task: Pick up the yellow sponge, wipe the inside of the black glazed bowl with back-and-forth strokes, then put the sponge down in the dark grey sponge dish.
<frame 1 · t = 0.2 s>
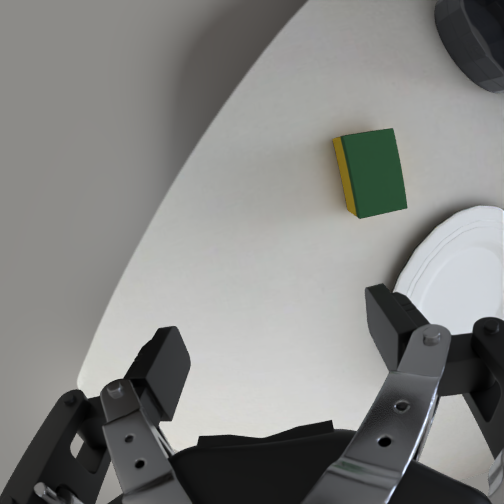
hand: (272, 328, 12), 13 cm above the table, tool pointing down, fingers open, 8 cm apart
black bowl: (479, 40, 17), on the table
sponge: (363, 170, 23), on the table
plate: (462, 299, 26), on the table
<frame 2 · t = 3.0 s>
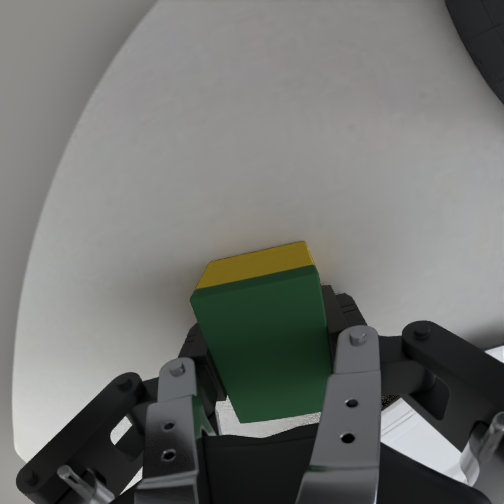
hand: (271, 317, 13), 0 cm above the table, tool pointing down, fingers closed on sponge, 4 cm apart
sponge: (272, 314, 13), on the table, touching gripper
plate: (436, 438, 16), on the table
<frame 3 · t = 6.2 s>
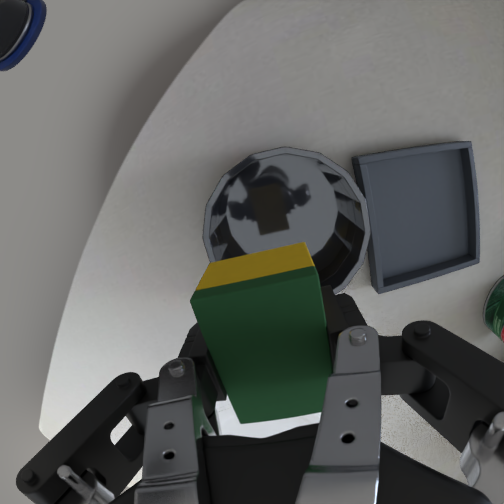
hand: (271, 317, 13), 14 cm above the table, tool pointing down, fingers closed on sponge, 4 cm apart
black bowl: (284, 220, 26), on the table
canned tomato: (502, 300, 27), on the table
sponge dish: (421, 211, 25), on the table
sponge: (272, 315, 13), point 14 cm above the table, touching gripper
plate: (265, 432, 34), on the table
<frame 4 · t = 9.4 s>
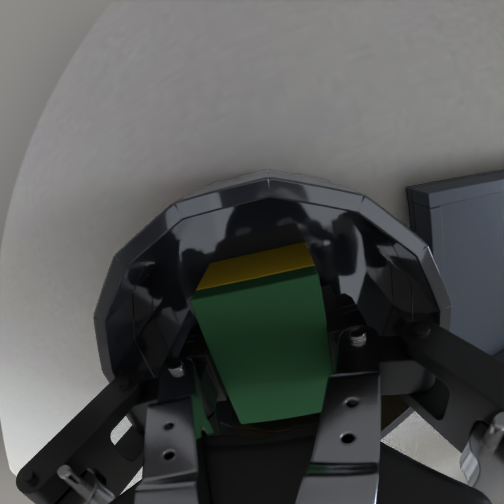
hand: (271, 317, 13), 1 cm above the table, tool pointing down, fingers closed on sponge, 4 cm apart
black bowl: (273, 307, 13), on the table
sponge dish: (498, 278, 12), on the table
sponge: (272, 315, 13), point 1 cm above the table, touching black bowl, gripper
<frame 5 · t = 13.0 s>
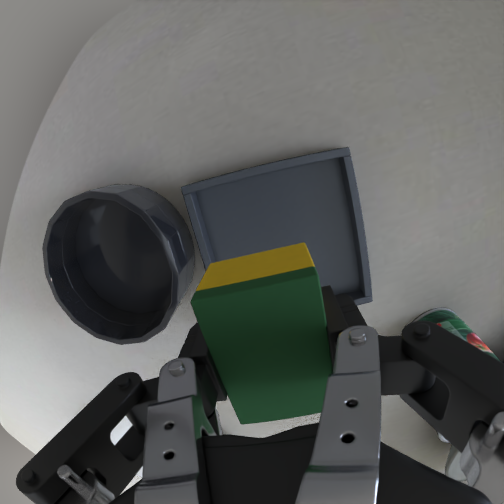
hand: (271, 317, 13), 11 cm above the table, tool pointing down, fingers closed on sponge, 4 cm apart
black bowl: (129, 253, 24), on the table
bowl: (502, 387, 29), on the table
canned tomato: (429, 339, 26), on the table
sponge dish: (283, 240, 23), on the table
sponge: (272, 315, 13), point 11 cm above the table, touching gripper
plate: (166, 447, 33), on the table
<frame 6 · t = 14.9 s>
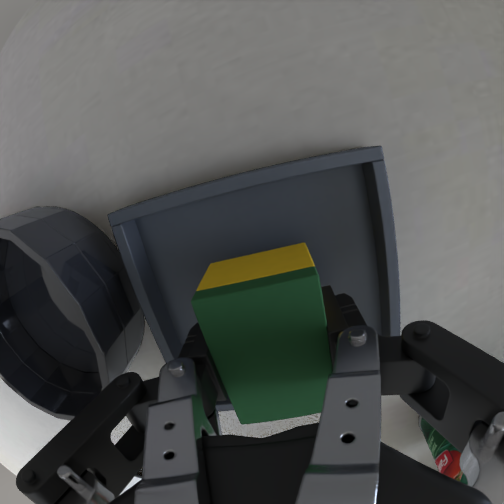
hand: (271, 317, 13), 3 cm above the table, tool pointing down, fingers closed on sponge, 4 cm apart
black bowl: (63, 299, 16), on the table
canned tomato: (458, 399, 18), on the table
sponge dish: (271, 292, 15), on the table
sponge: (272, 315, 13), point 2 cm above the table, touching gripper
when the fingers open (1 cm above the table, at t = 15.8 s): sponge stays where it is, resting on sponge dish.
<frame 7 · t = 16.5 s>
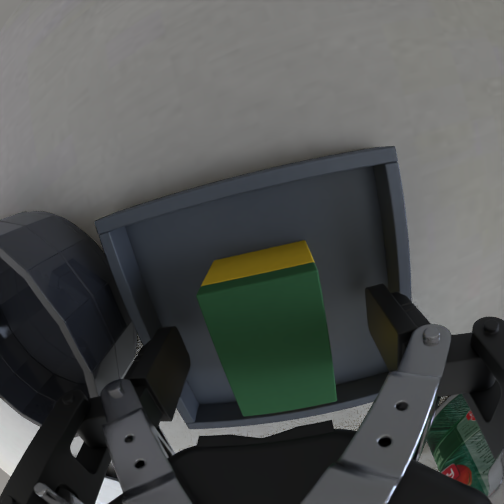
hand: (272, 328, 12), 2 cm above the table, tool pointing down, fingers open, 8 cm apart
black bowl: (53, 308, 15), on the table
canned tomato: (464, 410, 16), on the table
sponge dish: (272, 305, 14), on the table
sponge: (274, 311, 13), resting on sponge dish
plate: (141, 503, 24), on the table
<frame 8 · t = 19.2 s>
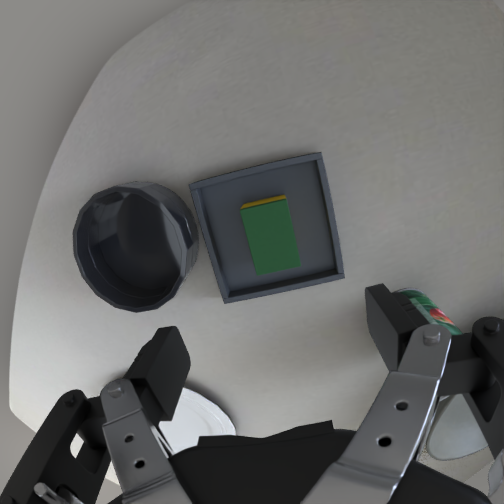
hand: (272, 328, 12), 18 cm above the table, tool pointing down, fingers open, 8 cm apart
black bowl: (144, 238, 30), on the table
bowl: (481, 370, 34), on the table
canned tomato: (401, 317, 32), on the table
sponge dish: (270, 227, 29), on the table
sponge: (270, 229, 29), resting on sponge dish
plate: (169, 419, 39), on the table
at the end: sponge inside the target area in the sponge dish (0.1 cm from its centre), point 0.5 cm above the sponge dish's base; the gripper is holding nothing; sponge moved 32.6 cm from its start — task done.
